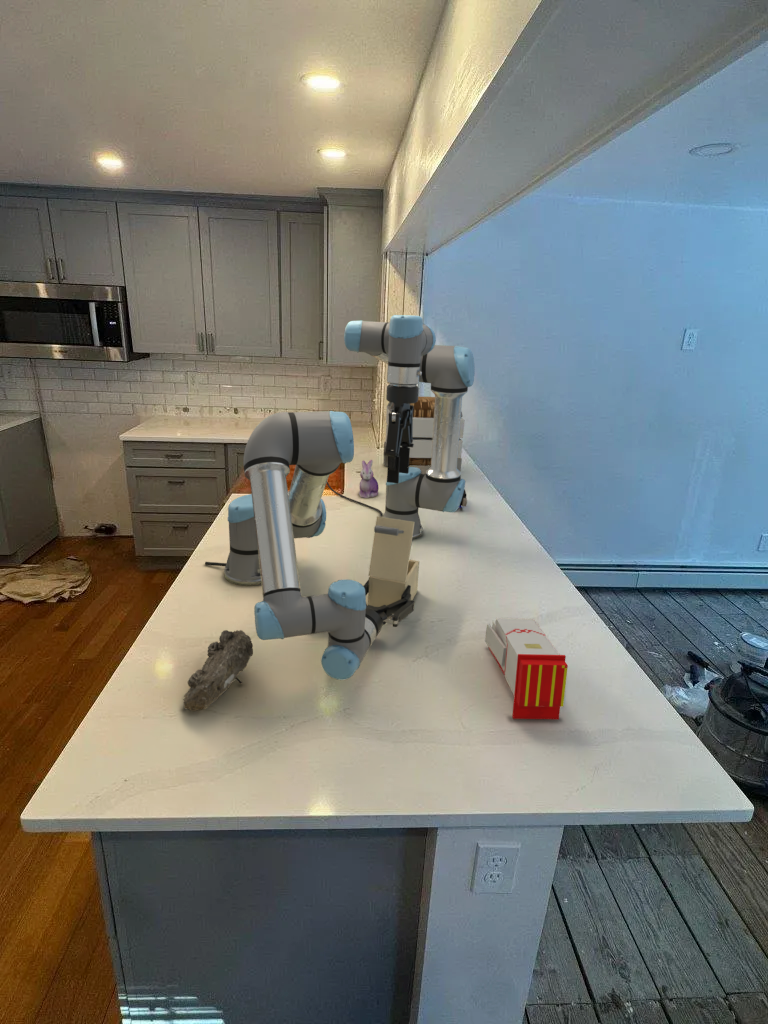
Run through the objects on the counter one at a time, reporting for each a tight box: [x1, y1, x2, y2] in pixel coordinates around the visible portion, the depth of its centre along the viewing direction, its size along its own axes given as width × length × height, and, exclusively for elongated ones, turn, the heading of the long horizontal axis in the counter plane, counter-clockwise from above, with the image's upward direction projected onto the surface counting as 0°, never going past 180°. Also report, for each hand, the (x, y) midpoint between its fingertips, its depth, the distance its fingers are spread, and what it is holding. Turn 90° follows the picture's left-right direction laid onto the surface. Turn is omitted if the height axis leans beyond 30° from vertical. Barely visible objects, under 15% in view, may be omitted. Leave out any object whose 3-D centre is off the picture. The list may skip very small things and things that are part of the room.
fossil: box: [182, 629, 254, 712], centre depth 117 cm, size 22×10×15 cm
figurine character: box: [458, 488, 468, 511], centre depth 230 cm, size 7×8×15 cm
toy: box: [484, 617, 569, 720], centre depth 122 cm, size 12×13×30 cm
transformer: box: [383, 396, 465, 474], centre depth 268 cm, size 34×33×41 cm
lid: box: [368, 516, 415, 582], centre depth 140 cm, size 15×10×9 cm
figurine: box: [358, 459, 380, 499], centre depth 237 cm, size 9×10×15 cm
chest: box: [367, 558, 420, 607], centre depth 152 cm, size 15×10×10 cm
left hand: (389, 586), depth 148 cm, fingers closed on chest, 10 cm apart
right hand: (398, 477), depth 140 cm, fingers open, 9 cm apart
